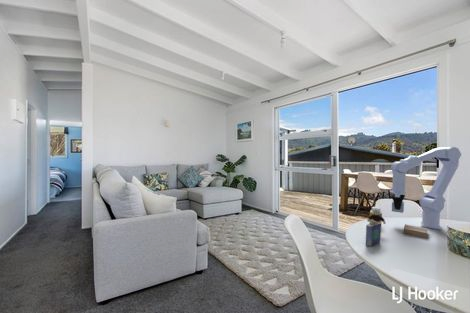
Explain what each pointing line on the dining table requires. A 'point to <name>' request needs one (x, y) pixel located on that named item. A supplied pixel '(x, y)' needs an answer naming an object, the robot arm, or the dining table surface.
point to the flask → (373, 233)
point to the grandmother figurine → (376, 216)
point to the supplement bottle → (373, 213)
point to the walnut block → (415, 231)
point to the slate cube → (397, 209)
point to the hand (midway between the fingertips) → (398, 208)
